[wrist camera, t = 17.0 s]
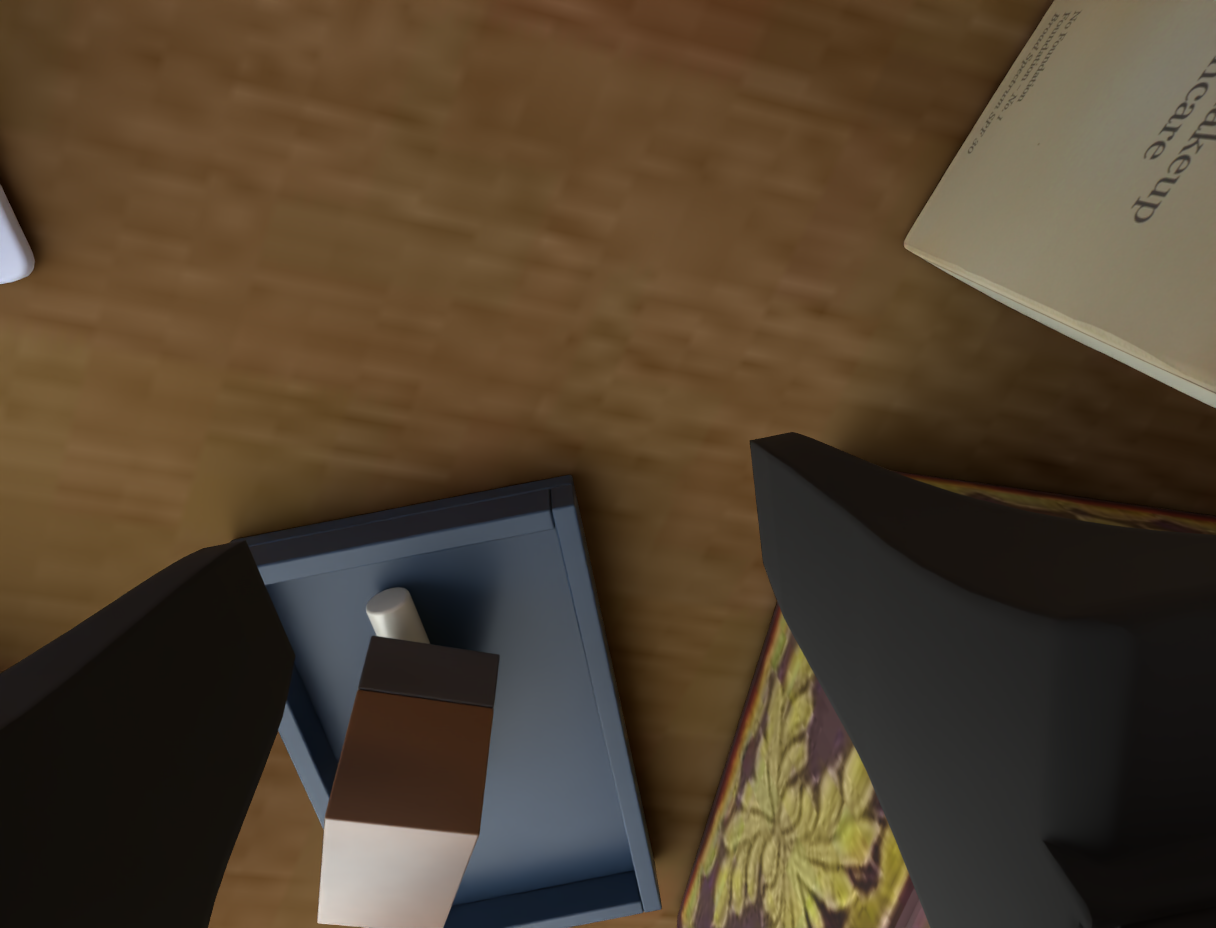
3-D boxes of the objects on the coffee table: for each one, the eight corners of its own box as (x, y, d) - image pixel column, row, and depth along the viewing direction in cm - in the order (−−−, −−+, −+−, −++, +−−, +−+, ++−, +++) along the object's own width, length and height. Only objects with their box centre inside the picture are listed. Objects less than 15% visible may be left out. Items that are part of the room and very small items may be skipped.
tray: (393, 913, 28) (384, 965, 26) (231, 539, 21) (205, 575, 20) (654, 862, 28) (662, 910, 26) (571, 473, 21) (574, 504, 20)
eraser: (463, 770, 25) (441, 934, 21) (356, 757, 24) (316, 923, 21) (500, 653, 20) (479, 835, 17) (371, 634, 20) (323, 818, 16)
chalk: (431, 665, 23) (395, 690, 22) (395, 580, 22) (357, 604, 21) (452, 682, 22) (415, 707, 22) (417, 594, 21) (376, 619, 20)
